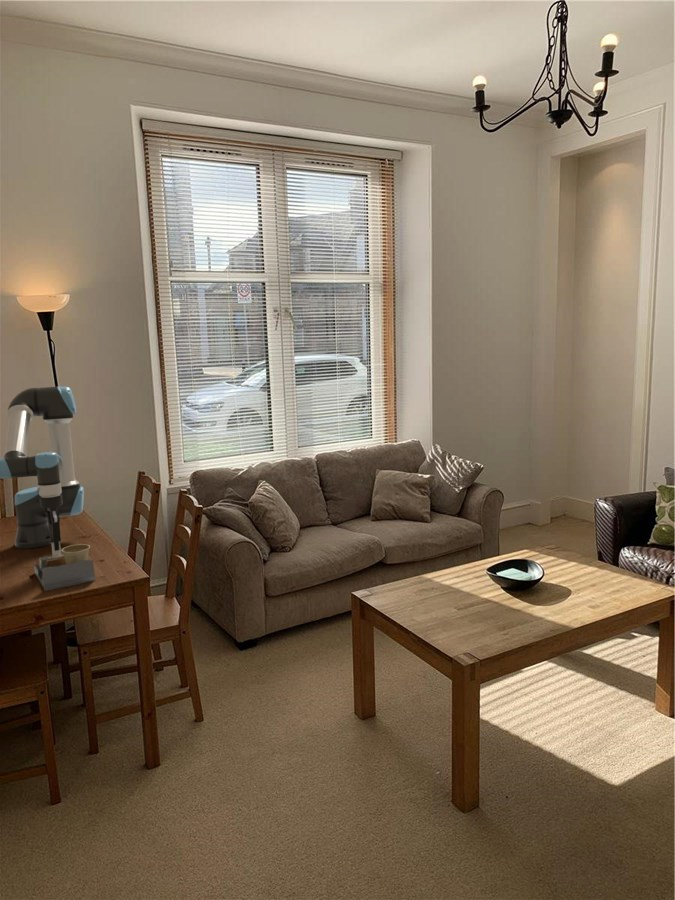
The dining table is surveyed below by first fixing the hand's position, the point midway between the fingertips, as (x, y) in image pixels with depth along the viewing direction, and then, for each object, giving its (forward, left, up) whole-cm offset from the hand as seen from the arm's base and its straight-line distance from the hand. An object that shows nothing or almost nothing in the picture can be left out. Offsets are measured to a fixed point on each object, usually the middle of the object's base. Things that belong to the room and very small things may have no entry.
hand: (57, 558), depth 242 cm
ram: (+4, 0, -2) cm, 4 cm away
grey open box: (+11, 0, -4) cm, 11 cm away
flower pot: (+14, +4, -3) cm, 14 cm away
